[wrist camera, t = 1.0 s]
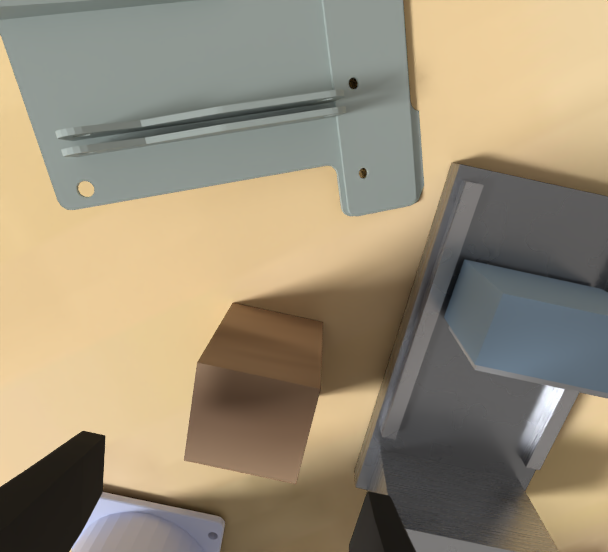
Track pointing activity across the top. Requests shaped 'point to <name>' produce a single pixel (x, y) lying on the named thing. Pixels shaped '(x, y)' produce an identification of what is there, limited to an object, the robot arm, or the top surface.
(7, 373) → the top surface
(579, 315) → the block
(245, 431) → the block
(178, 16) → the metal bracket
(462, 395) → the vise
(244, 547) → the top surface
